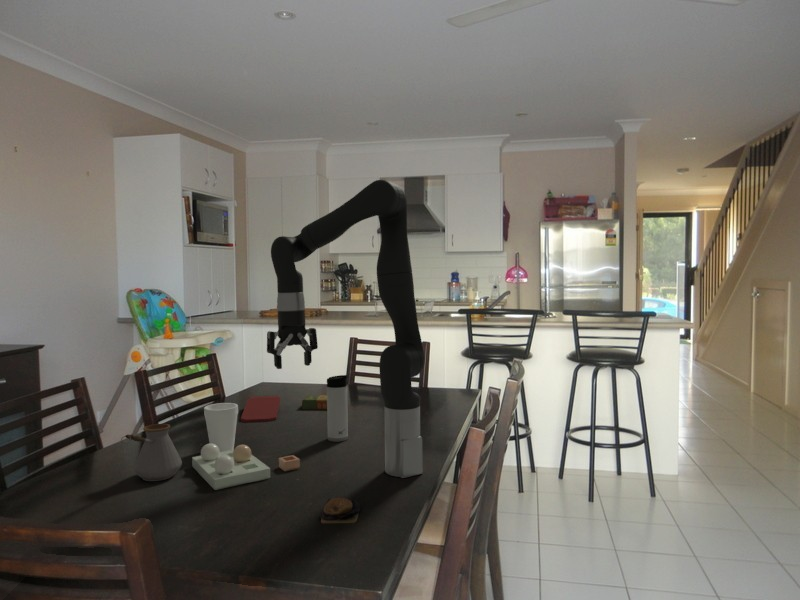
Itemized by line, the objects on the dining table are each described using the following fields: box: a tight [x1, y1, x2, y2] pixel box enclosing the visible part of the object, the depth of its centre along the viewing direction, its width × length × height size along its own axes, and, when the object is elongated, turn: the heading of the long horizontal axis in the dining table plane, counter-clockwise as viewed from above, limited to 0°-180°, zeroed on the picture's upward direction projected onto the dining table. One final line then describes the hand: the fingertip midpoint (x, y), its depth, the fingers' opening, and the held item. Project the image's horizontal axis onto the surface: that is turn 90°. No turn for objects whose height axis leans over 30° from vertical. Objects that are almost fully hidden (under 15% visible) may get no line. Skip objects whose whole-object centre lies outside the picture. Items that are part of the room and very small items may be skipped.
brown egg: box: [233, 444, 252, 463], centre depth 155 cm, size 5×5×5 cm
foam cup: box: [203, 402, 239, 452], centre depth 172 cm, size 10×9×13 cm
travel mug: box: [326, 374, 349, 443], centre depth 182 cm, size 6×7×20 cm
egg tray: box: [191, 449, 271, 491], centre depth 153 cm, size 21×14×2 cm, turn 34°
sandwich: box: [319, 497, 361, 524], centre depth 127 cm, size 11×8×4 cm
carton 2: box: [240, 395, 281, 423], centre depth 217 cm, size 12×5×25 cm
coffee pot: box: [120, 423, 183, 482], centre depth 146 cm, size 21×12×15 cm, turn 177°
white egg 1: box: [200, 442, 220, 461], centre depth 157 cm, size 5×5×5 cm
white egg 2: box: [214, 455, 234, 475], centre depth 146 cm, size 5×5×5 cm
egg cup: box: [278, 454, 301, 472], centre depth 156 cm, size 4×4×2 cm
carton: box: [301, 394, 327, 410], centre depth 226 cm, size 8×16×4 cm, turn 85°
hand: (293, 366), depth 164 cm, fingers open, 8 cm apart
